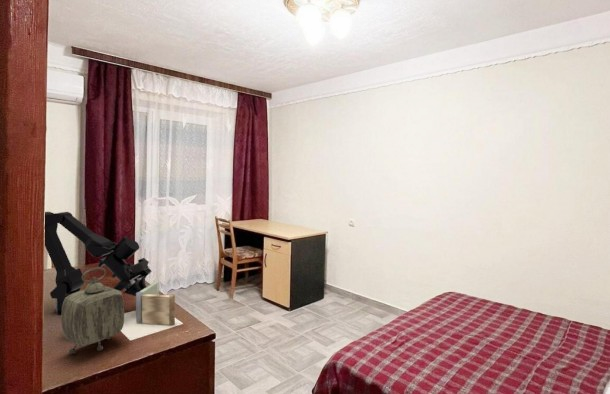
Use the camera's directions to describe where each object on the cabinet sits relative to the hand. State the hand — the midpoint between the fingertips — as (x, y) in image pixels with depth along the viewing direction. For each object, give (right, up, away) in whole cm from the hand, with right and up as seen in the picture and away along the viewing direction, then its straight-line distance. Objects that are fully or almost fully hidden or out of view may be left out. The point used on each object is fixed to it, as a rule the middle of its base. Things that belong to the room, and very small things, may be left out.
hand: (147, 297), depth 128 cm
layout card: (+2, -7, -5) cm, 9 cm away
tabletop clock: (-4, -8, -25) cm, 26 cm away
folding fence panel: (+1, -6, -1) cm, 6 cm away
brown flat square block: (+7, -7, -8) cm, 13 cm away
